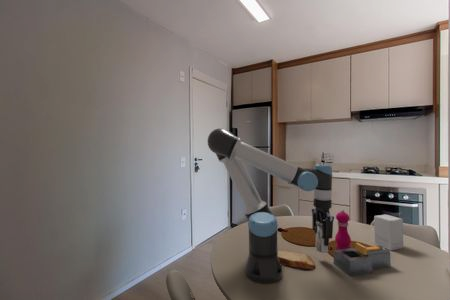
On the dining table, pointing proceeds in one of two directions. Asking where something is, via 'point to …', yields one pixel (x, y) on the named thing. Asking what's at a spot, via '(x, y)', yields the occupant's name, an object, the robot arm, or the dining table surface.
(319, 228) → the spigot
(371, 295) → the dining table surface
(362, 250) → the lock pin
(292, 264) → the bread slice
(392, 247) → the supplement box
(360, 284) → the dining table surface
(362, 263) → the dock
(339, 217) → the pepper mill
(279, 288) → the dining table surface
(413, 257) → the dining table surface
